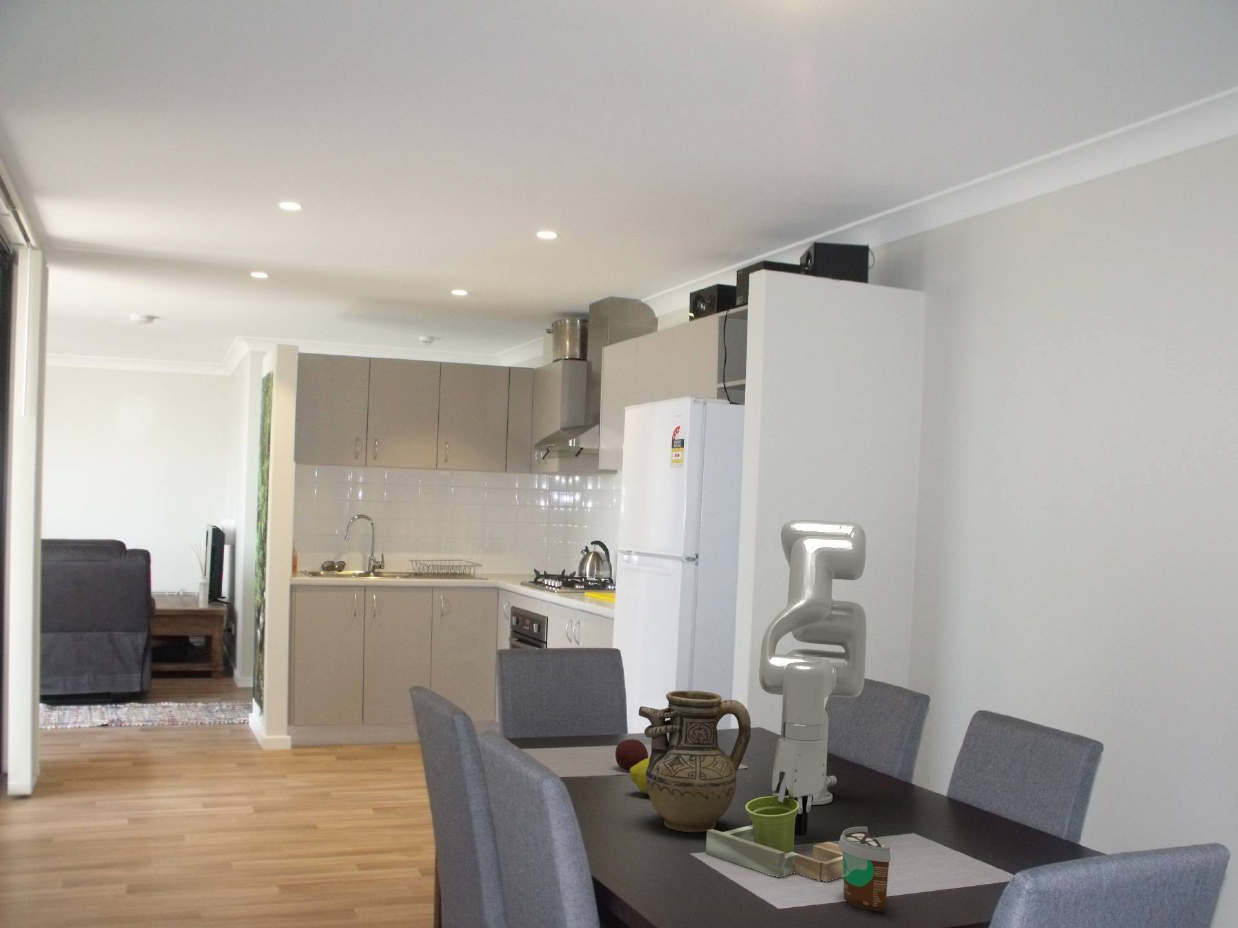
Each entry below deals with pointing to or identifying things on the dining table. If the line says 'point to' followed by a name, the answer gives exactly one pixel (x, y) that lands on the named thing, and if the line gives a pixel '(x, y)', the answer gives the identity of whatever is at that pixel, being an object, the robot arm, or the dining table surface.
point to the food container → (864, 869)
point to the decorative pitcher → (693, 759)
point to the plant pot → (773, 822)
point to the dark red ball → (630, 753)
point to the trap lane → (774, 855)
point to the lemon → (640, 774)
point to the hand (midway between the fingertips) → (797, 833)
